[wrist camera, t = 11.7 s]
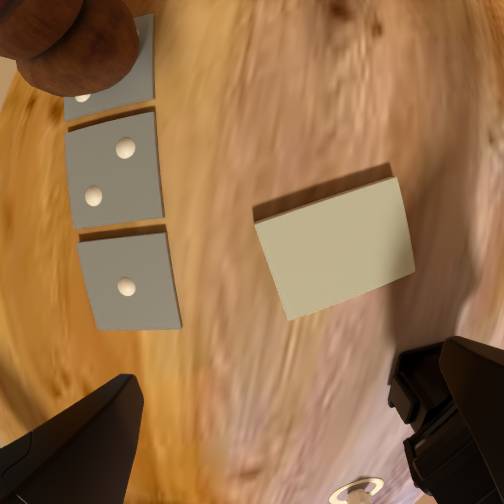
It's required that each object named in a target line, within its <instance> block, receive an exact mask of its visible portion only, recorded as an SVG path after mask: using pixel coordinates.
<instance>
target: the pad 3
mask: <svg viewBox="0 0 504 504" xmlns="http://www.w3.org/2000/svg"><path fill="white" fill-rule="evenodd" d="M77 248H78V253H79V258H80V263H81V268H82V272H83V277H84V281H85V285H86V289H87V293H88V297H89V301H90V304H91V308H92V311H93V315H94V318H95V322H96V325H97V328H98V330H172V329H182V321H181V315H180V310H179V305H178V299H177V294H176V288H175V282H174V276H173V270H172V264H171V257H170V251H169V244H168V237H167V232H158V233H149V234H140V235H131V236H122V237H113V238H105V239H96V240H88V241H80V242H78V243H77Z"/></svg>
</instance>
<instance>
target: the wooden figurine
mask: <svg viewBox="0 0 504 504" xmlns="http://www.w3.org/2000/svg"><path fill="white" fill-rule="evenodd" d="M139 46H140V42H139V37H138V33H137V29H136V25H135V22H134V19H133V16H132V15H131V13H130V11H129V10H128V8H127V7H126V5H125V4H124V3H123V1H122V0H0V56H2V57H5V58H9V59H13V60H16V63H17V69H18V71H19V72H20V74H21V75H22V76H23V78H24V79H25V80H26V81H27V82H28V83H29V84H30V85H31V86H33V87H36V88H38V89H40V90H43V91H45V92H48V93H51V94H54V95H57V96H61V97H76V96H82V95H88V94H94V93H97V92H100V91H103V90H106V89H109V88H111V87H112V86H114V85H115V84H117V83H118V82H120V81H121V80H122V79H123V78H124V77H125V76H126V75H127V74H128V73H129V72H130V71H131V69H132V67H133V66H134V64H135V62H136V60H137V58H138V52H139Z"/></svg>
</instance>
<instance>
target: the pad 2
mask: <svg viewBox="0 0 504 504" xmlns="http://www.w3.org/2000/svg"><path fill="white" fill-rule="evenodd" d="M65 153H66V168H67V179H68V189H69V198H70V205H71V213H72V219H73V226H74V229H81V228H88V227H95V226H102V225H110V224H117V223H125V222H133V221H141V220H149V219H158V218H164V217H165V214H164V206H163V197H162V188H161V178H160V167H159V155H158V142H157V128H156V113H155V112H148V113H143V114H138V115H134V116H129V117H125V118H120V119H116V120H112V121H108V122H104V123H100V124H97V125H93V126H89V127H86V128H82V129H79V130H75V131H72V132H69V133H66V134H65Z"/></svg>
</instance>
